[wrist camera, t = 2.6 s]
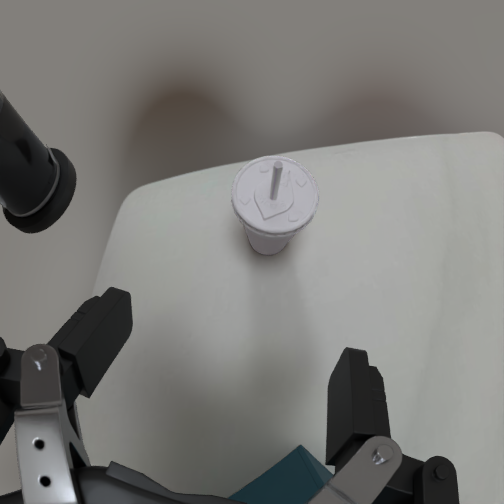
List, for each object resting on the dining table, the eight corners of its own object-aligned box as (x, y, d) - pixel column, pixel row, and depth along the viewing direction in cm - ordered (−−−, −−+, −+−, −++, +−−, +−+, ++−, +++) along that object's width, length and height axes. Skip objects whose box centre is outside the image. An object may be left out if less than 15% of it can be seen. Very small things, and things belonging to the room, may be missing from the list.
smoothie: (225, 254, 31) (209, 183, 18) (249, 199, 33) (251, 106, 20) (287, 278, 31) (317, 222, 17) (308, 220, 33) (344, 137, 19)
